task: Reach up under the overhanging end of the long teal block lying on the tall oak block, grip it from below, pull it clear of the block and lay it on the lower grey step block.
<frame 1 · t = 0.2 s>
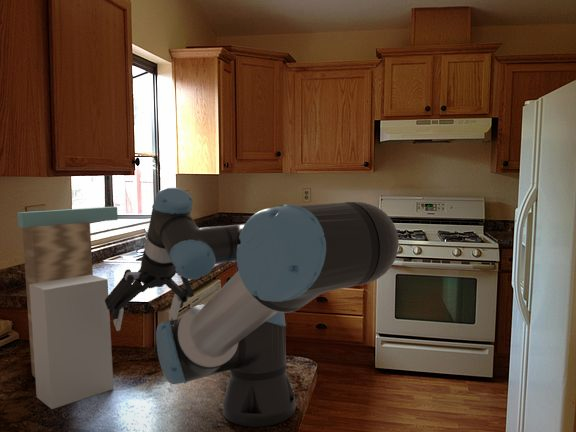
hand: (145, 321, 121), 15 cm above the countertop, tool tilted 35°, fingers open, 13 cm apart
teal block: (70, 223, 131), point 38 cm above the countertop, touching oak block
oak block: (65, 370, 132), on the countertop
step block: (75, 393, 118), on the countertop
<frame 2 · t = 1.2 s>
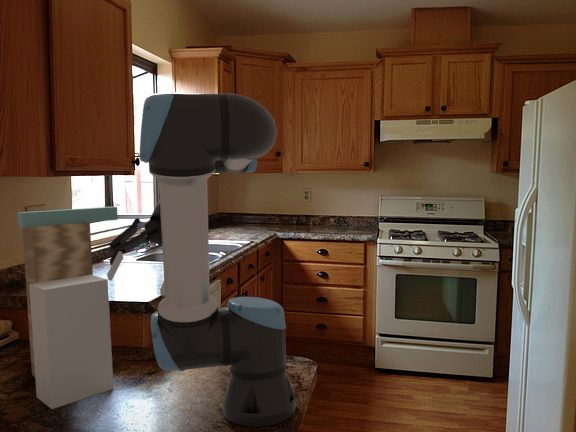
hand: (135, 285, 117), 25 cm above the countertop, tool tilted 45°, fingers open, 12 cm apart
nothing on the countertop moved.
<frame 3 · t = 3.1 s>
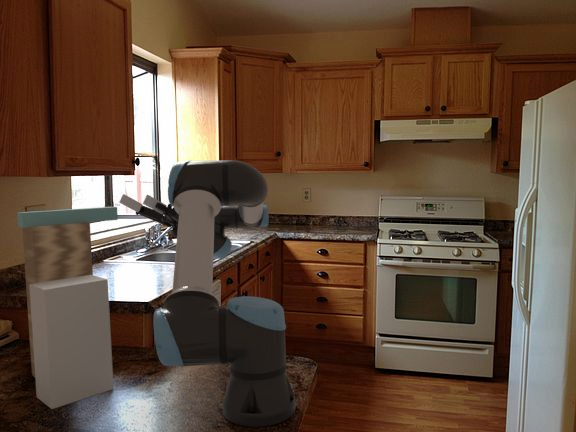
hand: (133, 198, 143), 43 cm above the countertop, tool pointing upward, fingers open, 13 cm apart
nothing on the countertop moved.
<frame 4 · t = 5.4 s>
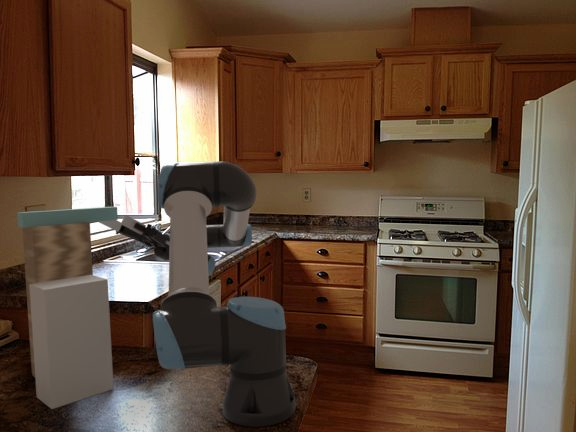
hand: (111, 218, 140), 38 cm above the countertop, tool pointing upward, fingers open, 13 cm apart
nothing on the countertop moved.
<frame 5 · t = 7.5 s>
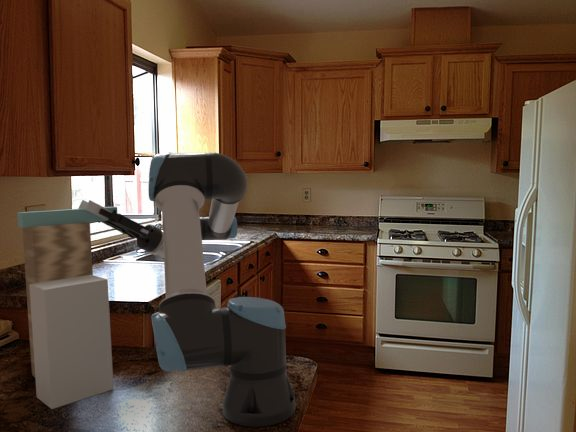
hand: (84, 204, 134), 43 cm above the countertop, tool pointing upward, fingers closed on teal block, 3 cm apart
teal block: (70, 223, 131), point 38 cm above the countertop, touching gripper, oak block
everything else where it was.
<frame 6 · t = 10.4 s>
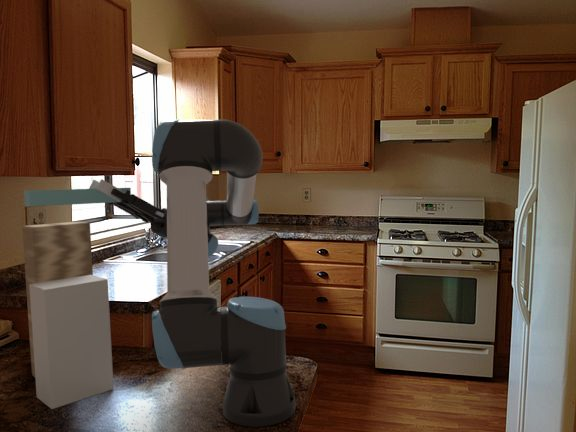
hand: (95, 184, 124), 48 cm above the countertop, tool pointing upward, fingers closed on teal block, 3 cm apart
teal block: (81, 203, 122), point 43 cm above the countertop, touching gripper
everything else where it was.
when the fingers open (32 cm above the countertop, at t = 13.5 s): teal block drops 2 cm, resting on step block.
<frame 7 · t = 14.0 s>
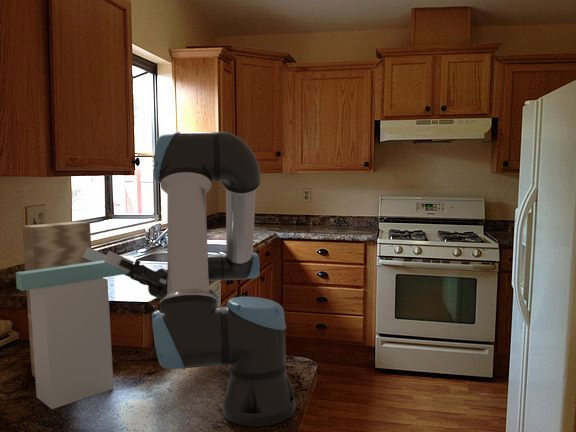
hand: (95, 254, 120), 32 cm above the countertop, tool pointing upward, fingers open, 11 cm apart
teal block: (76, 280, 117), point 26 cm above the countertop, touching step block
everything else where it was.
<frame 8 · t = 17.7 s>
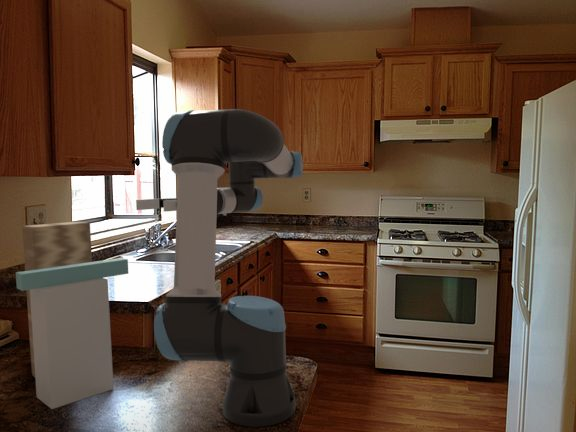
hand: (150, 205, 131), 42 cm above the countertop, tool horizontal, fingers open, 13 cm apart
nothing on the countertop moved.
at the end: teal block inside the target area on the step block (1.6 cm from its centre), point 26.0 cm above the step block's base; the gripper is holding nothing; teal block touching step block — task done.
